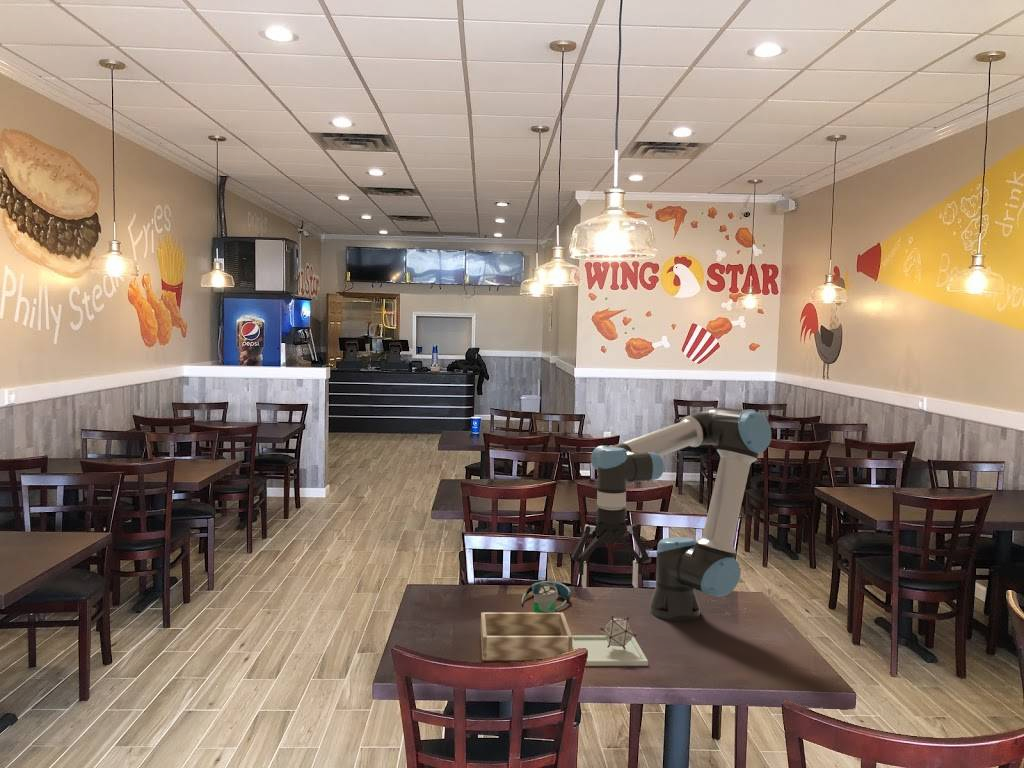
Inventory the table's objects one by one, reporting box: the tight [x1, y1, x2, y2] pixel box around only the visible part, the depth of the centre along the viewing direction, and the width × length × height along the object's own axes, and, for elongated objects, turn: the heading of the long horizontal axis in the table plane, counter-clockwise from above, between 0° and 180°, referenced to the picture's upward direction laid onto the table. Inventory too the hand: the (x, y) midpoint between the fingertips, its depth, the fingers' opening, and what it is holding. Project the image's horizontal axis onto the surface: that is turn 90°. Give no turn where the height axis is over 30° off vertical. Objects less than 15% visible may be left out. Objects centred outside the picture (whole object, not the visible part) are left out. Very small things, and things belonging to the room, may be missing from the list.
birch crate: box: [480, 611, 573, 661], centre depth 204 cm, size 23×18×6 cm
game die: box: [599, 615, 638, 649], centre depth 202 cm, size 9×8×10 cm
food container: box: [533, 583, 559, 613], centre depth 221 cm, size 12×6×10 cm, turn 168°
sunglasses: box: [521, 580, 572, 612], centre depth 238 cm, size 14×15×5 cm
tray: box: [571, 634, 649, 667], centre depth 202 cm, size 18×17×1 cm
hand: (609, 586), depth 201 cm, fingers open, 13 cm apart
